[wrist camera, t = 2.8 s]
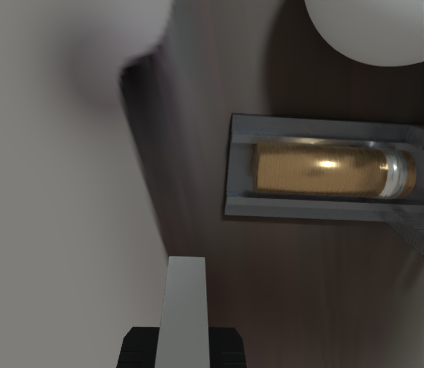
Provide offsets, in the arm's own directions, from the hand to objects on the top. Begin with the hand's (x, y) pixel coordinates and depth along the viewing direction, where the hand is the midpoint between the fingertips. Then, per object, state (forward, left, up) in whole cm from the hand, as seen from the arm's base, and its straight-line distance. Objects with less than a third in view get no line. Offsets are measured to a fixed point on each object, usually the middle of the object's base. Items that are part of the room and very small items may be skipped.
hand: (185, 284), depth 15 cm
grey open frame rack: (0, +15, -17) cm, 23 cm away
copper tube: (0, +11, -16) cm, 19 cm away
